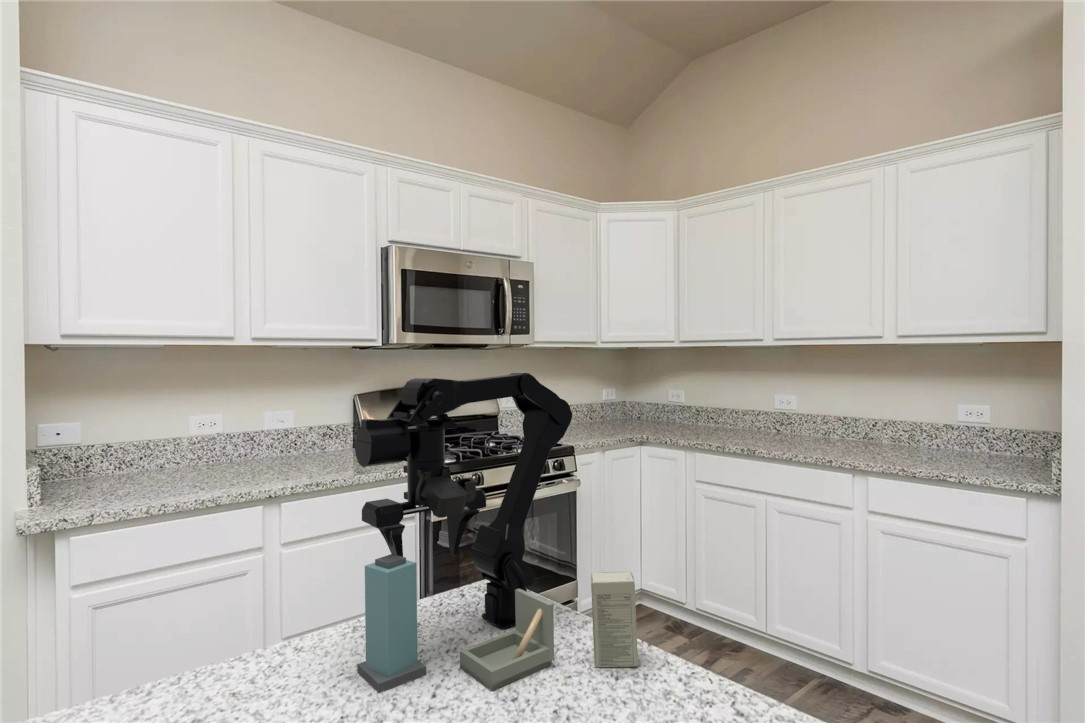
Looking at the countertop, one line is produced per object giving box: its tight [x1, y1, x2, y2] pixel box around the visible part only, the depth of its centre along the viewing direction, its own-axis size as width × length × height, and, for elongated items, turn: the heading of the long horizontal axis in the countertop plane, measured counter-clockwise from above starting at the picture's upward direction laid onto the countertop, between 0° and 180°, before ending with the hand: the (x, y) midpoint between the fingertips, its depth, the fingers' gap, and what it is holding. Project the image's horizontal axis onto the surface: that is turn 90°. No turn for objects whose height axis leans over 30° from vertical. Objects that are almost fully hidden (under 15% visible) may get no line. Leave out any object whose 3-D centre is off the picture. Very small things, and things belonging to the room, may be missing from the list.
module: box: [364, 553, 419, 677], centre depth 84 cm, size 5×5×15 cm
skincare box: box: [590, 570, 639, 668], centre depth 86 cm, size 6×4×12 cm
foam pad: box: [356, 659, 427, 694], centre depth 83 cm, size 7×7×1 cm
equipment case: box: [459, 589, 555, 692], centre depth 85 cm, size 11×8×9 cm
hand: (427, 561), depth 92 cm, fingers open, 9 cm apart
